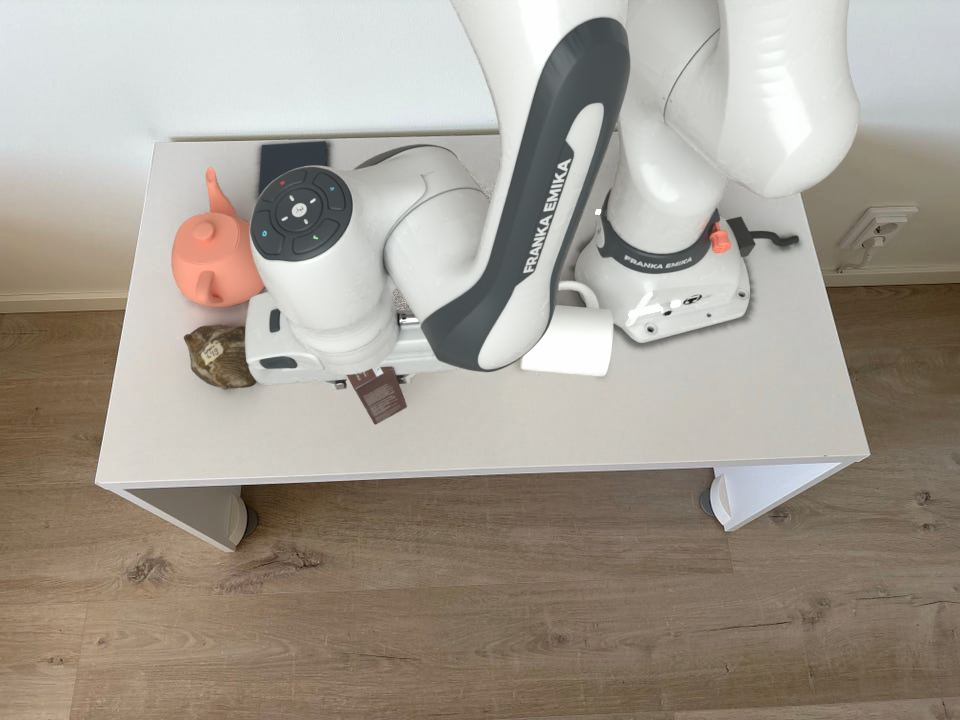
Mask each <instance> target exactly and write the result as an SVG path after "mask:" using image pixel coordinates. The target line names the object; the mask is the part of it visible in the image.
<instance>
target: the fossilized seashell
mask: <svg viewBox="0 0 960 720" xmlns="http://www.w3.org/2000/svg"><path fill="white" fill-rule="evenodd" d="M245 328H246V325H239V326H235V327H234V326H228V325H223V324H213V325H212V324H211V325H202V326H199V327H197V328H196V329H194V330H193V331H191V332H190V333H186V334H185V335H184V336H183V341H184V343H185V344H186V346H187V347H186V348H187V350H188V353H189V360H190V369H191V371H192V372H193V373H194V375H195V376H196V377H197V378H198V379H200V380H202V381H203V382H204V383H206V384H207V385H210V386H212V387H216V388H220V389H222V390H224V391H225V390H229V389H230V390H232V389H239V388H240V389H244V388H250V387H253V386H255V385H256V384H257V383H258V382H257V381H256V380H255V379H254V377H253V376H252V374H251V373H250V370H249V367H248V366H249V364H248V363H247V361H246V352H245Z"/></svg>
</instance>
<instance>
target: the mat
mask: <svg viewBox="0 0 960 720" xmlns="http://www.w3.org/2000/svg"><path fill="white" fill-rule="evenodd" d="M327 149H328V147H327V142H326V141H325V140H321V141H305V142H304V141H303V142H286V143H270V144H261V151H260V167H259V182H258V183H259V184H258V185H259V186H258V197H259V196H260V195H261V193H262V192H263V191H264V189H265V188H266V187H267V186H268V185H269V184H270V183H271V182H272V181H273V180H275V179H276V178H277V177H279V176H281V175H283V174H284V173H286V172H288V171H291V170H293V169H296V168H300V167H304V166H326V167H327V162H328V161H327V160H328V159H327V157H328V156H327V155H328V152H327V151H328V150H327Z"/></svg>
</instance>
